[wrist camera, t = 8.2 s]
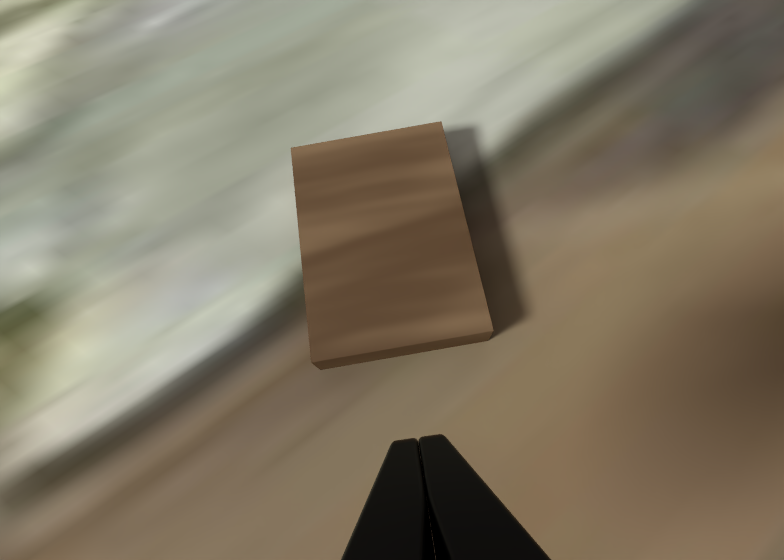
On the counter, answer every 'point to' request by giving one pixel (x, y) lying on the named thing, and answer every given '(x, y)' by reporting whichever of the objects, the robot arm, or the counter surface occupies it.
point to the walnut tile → (385, 248)
